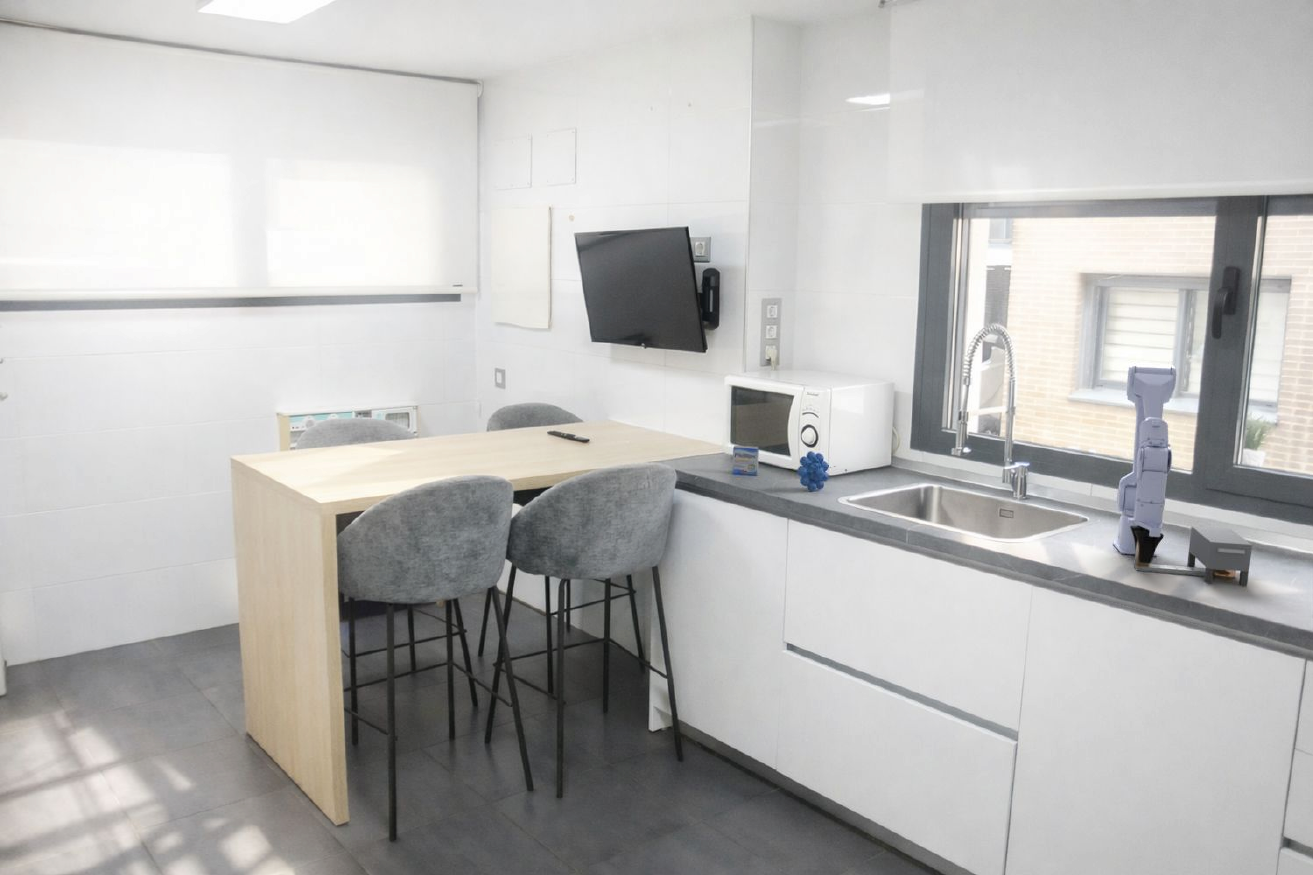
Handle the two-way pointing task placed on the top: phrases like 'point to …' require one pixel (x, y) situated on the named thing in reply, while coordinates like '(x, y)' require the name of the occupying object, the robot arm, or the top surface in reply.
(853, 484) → the top surface
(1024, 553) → the top surface
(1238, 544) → the low cabinet
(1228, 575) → the copper token
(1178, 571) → the scraper
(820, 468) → the grapes
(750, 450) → the medicine box
